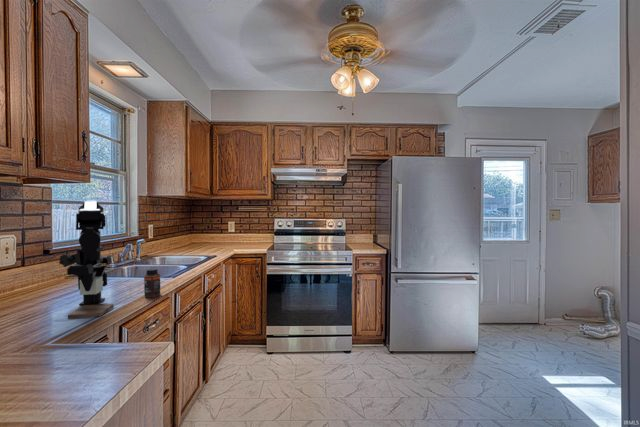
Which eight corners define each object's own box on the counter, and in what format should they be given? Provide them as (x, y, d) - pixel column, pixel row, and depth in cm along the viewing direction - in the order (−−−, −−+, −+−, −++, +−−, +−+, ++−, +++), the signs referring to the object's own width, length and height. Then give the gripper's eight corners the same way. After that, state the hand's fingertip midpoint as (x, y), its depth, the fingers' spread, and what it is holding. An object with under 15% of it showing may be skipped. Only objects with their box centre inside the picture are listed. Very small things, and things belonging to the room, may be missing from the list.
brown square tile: (83, 308, 117) (83, 305, 117) (113, 306, 119) (113, 303, 119) (67, 318, 107) (67, 314, 107) (101, 316, 109) (101, 313, 109)
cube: (87, 290, 115) (86, 276, 115) (102, 290, 116) (102, 276, 116) (79, 294, 110) (79, 280, 110) (96, 294, 111) (95, 279, 111)
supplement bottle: (163, 293, 136) (162, 267, 135) (156, 298, 130) (156, 270, 129) (148, 293, 136) (148, 267, 135) (141, 298, 130) (141, 270, 129)
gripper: (78, 241, 119) (79, 283, 120) (47, 249, 101) (48, 298, 102) (111, 241, 122) (112, 281, 123) (87, 249, 104) (88, 296, 104)
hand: (91, 289), depth 113 cm, fingers closed on cube, 5 cm apart
